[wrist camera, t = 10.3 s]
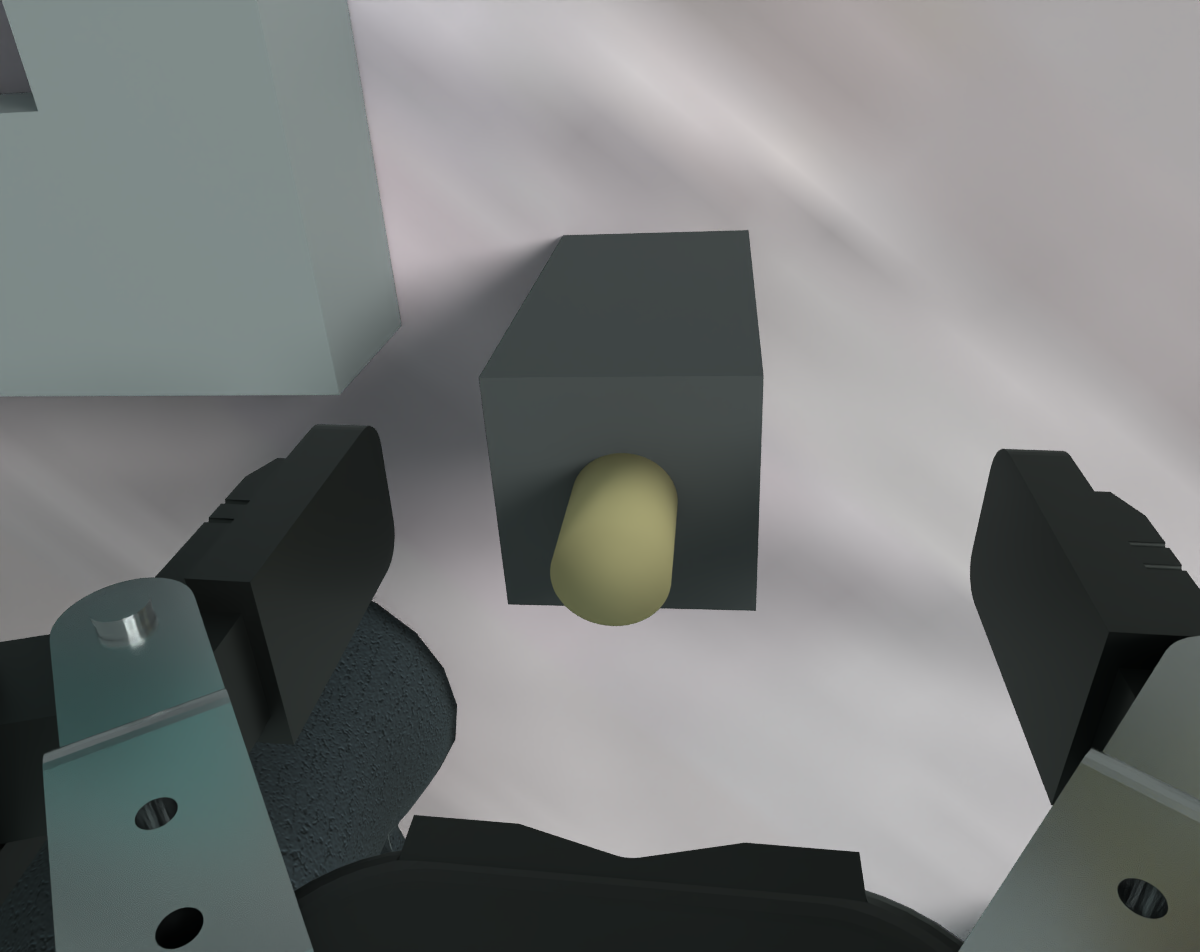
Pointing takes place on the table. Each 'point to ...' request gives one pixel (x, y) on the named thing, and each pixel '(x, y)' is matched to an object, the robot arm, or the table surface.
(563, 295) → the plug
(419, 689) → the mug
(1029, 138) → the table surface
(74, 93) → the socket plate
